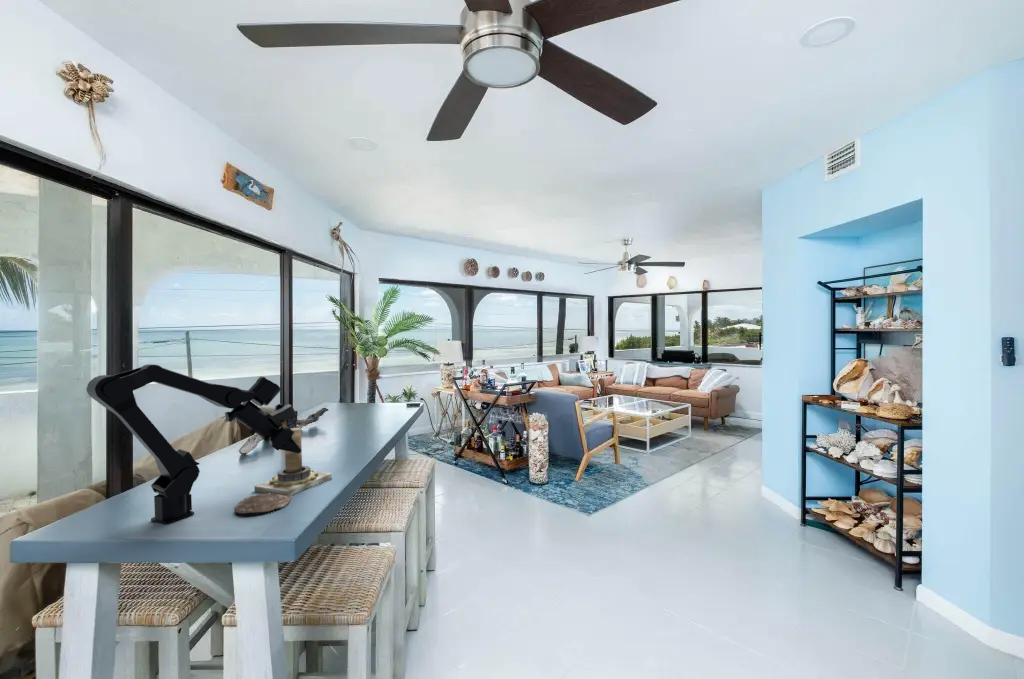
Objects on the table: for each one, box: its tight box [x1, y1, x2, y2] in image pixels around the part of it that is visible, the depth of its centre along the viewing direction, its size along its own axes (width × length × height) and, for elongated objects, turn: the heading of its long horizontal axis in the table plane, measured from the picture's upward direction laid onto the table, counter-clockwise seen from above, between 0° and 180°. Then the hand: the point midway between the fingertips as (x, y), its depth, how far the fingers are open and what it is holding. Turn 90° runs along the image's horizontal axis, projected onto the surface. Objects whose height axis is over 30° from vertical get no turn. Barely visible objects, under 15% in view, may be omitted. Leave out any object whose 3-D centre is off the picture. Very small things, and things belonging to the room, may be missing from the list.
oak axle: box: [284, 427, 303, 474], centre depth 131 cm, size 4×4×13 cm
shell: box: [234, 493, 293, 517], centre depth 115 cm, size 12×13×4 cm
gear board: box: [253, 465, 333, 496], centre depth 132 cm, size 16×13×4 cm
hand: (298, 450), depth 132 cm, fingers closed on oak axle, 4 cm apart
